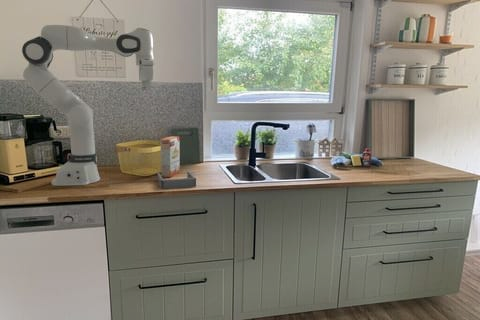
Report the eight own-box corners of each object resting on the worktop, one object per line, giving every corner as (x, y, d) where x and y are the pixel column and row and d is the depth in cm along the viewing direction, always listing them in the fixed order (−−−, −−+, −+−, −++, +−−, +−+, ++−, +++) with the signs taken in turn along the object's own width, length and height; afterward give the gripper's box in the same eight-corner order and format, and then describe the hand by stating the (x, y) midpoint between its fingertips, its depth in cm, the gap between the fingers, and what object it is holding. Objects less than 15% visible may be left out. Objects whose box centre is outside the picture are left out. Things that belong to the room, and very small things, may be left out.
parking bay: (161, 188, 166) (161, 180, 165) (157, 179, 181) (157, 172, 181) (196, 186, 172) (196, 178, 171) (189, 177, 187) (189, 170, 186)
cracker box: (171, 177, 186) (170, 139, 181) (160, 177, 187) (159, 139, 183) (180, 171, 199) (180, 136, 195) (170, 171, 200) (170, 135, 196)
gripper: (135, 63, 183) (136, 89, 186) (142, 60, 165) (143, 90, 168) (147, 63, 186) (148, 89, 189) (155, 61, 168) (156, 90, 171)
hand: (146, 89), depth 178 cm, fingers open, 8 cm apart
